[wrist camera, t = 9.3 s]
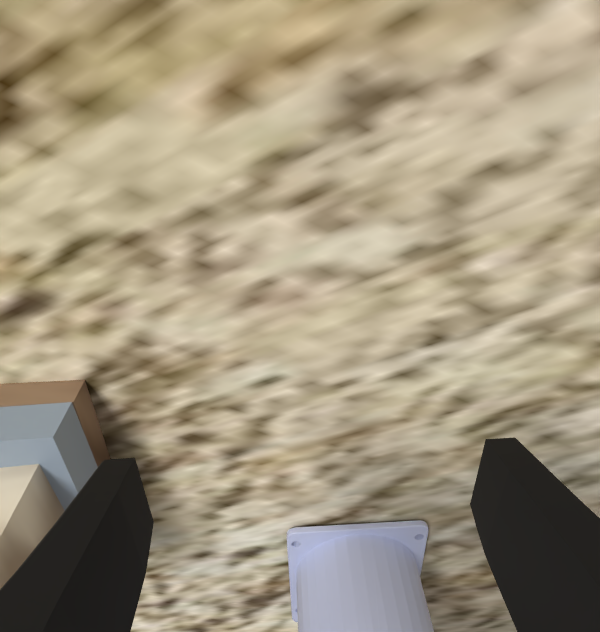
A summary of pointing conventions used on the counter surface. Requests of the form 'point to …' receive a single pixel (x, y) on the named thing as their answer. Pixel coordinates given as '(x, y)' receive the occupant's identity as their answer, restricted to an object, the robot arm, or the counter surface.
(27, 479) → the birch block
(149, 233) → the counter surface
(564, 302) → the counter surface
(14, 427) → the slate slab
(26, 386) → the walnut slab
